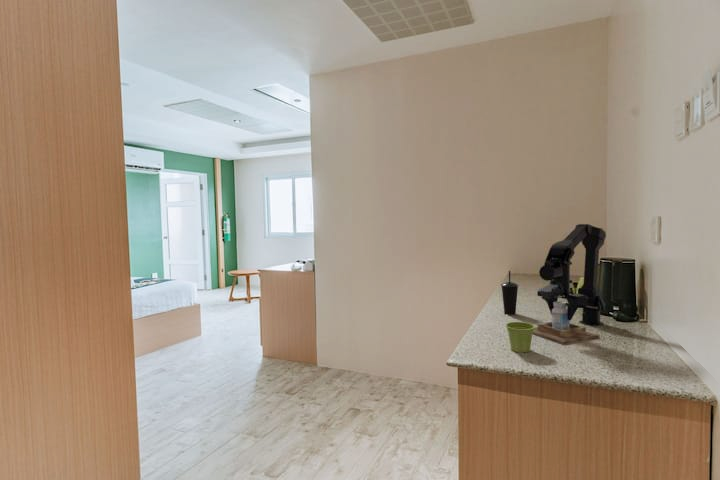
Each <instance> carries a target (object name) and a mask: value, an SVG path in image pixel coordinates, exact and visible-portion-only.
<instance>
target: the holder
mask: <svg viewBox="0 0 720 480" xmlns="http://www.w3.org/2000/svg"><path fill="white" fill-rule="evenodd" d="M532 335H534V336H537V337H540V338H543V339H545V340H548V341H551V342H554V343H557V344H559V345H567V344H568V345H569V344H574V343H578V342H584V341H590V340H595V339H599V338H600V334H596V333H594V332H590V331H587V329H586V327H585V326H582V325H578V324H575V323H571V322H570V329H567V330H559V329H556V328H552V321H548V322H542V323H537V326H535V328H534V331H533V333H532Z"/></svg>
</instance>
